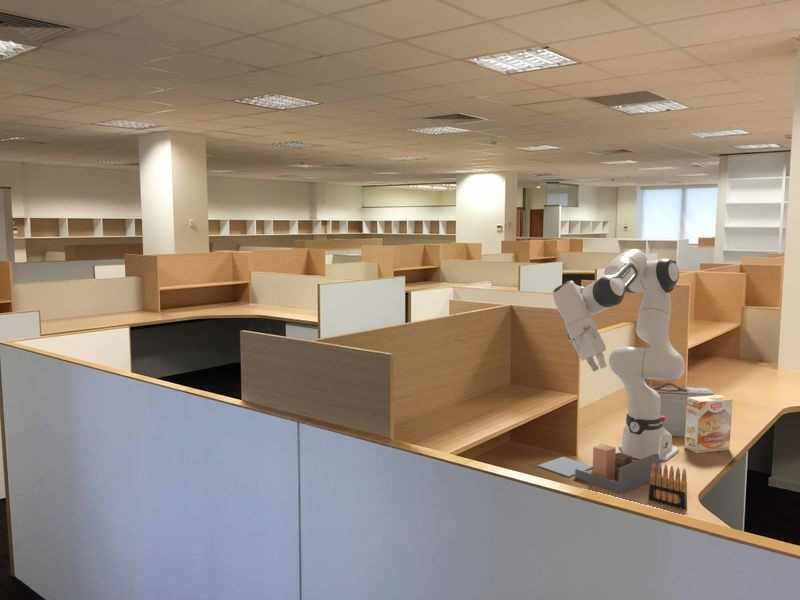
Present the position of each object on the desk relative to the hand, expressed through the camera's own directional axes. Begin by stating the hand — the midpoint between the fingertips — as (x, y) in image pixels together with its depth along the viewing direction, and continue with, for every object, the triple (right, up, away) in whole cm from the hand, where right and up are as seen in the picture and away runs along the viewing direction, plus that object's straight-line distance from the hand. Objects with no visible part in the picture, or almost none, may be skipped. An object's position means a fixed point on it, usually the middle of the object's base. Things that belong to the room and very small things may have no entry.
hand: (599, 369), depth 210 cm
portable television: (+48, -31, +57) cm, 81 cm away
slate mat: (-7, -35, +17) cm, 40 cm away
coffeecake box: (+51, -34, +36) cm, 71 cm away
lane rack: (+7, -36, +7) cm, 38 cm away
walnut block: (+10, -36, +11) cm, 39 cm away
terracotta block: (+3, -37, +5) cm, 37 cm away
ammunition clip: (+16, -39, -14) cm, 44 cm away
